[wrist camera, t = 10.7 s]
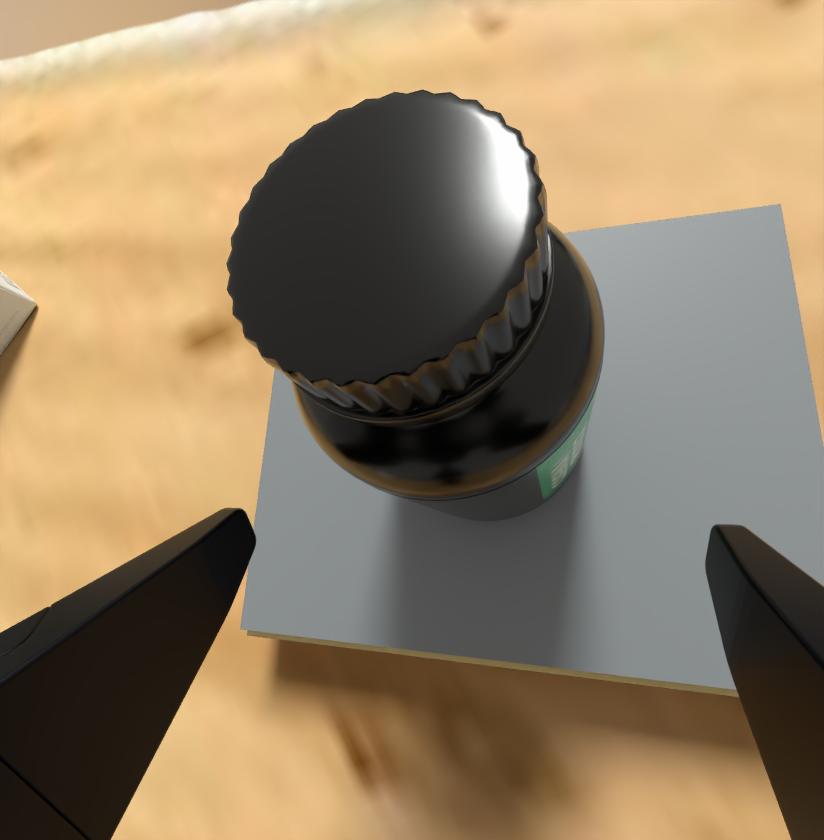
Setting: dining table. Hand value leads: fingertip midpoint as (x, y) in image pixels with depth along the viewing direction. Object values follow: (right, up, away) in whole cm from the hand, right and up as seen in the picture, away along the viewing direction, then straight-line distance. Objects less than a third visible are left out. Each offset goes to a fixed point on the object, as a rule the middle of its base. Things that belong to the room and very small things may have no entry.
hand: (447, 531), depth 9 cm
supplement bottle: (+2, +2, +9) cm, 9 cm away
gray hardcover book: (+3, +1, +11) cm, 12 cm away
